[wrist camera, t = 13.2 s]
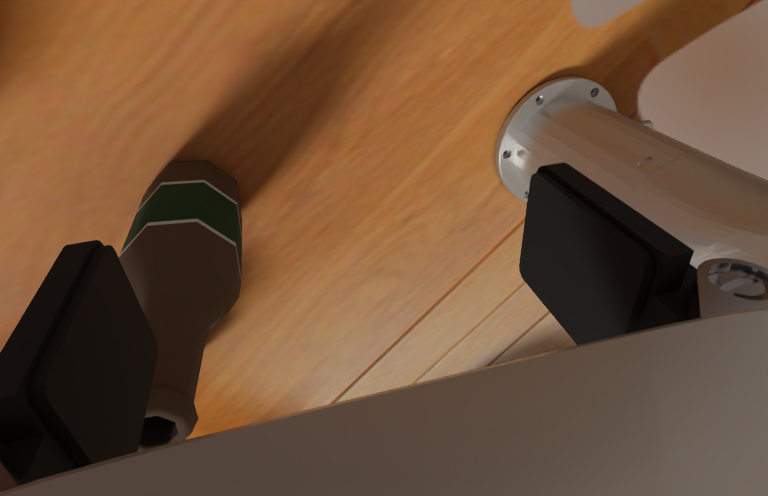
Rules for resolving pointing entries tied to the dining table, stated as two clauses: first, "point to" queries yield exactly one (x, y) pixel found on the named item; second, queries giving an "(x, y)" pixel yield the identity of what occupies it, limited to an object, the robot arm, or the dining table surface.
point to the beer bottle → (183, 283)
